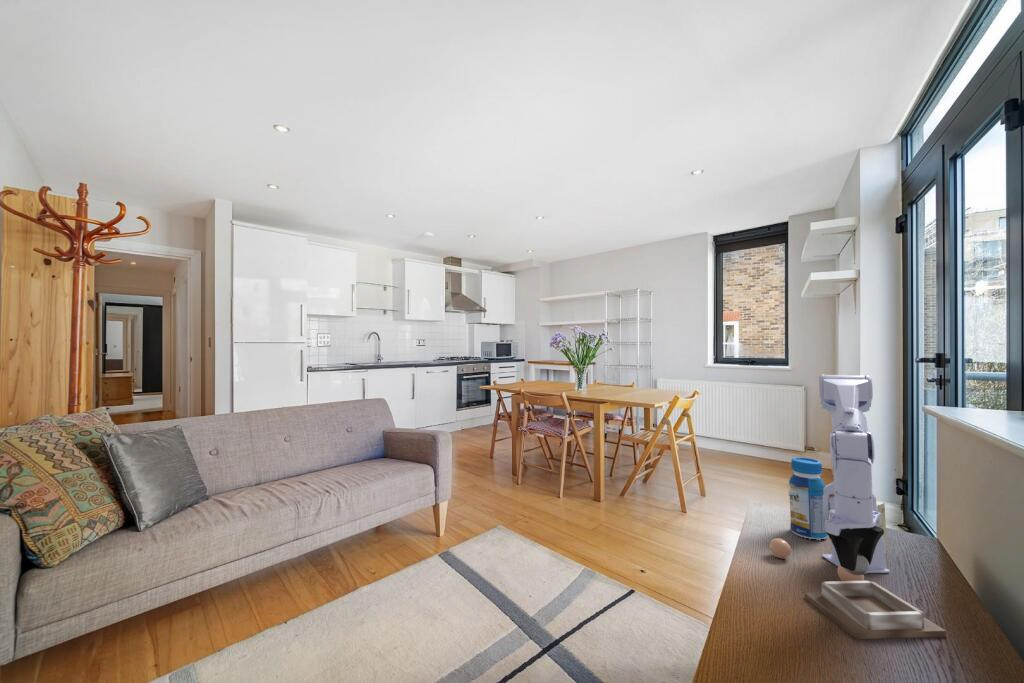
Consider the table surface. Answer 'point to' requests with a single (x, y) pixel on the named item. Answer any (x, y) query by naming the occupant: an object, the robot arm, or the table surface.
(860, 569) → the steel ball
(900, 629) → the holder board
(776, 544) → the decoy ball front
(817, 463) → the beverage bottle
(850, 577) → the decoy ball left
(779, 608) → the table surface
